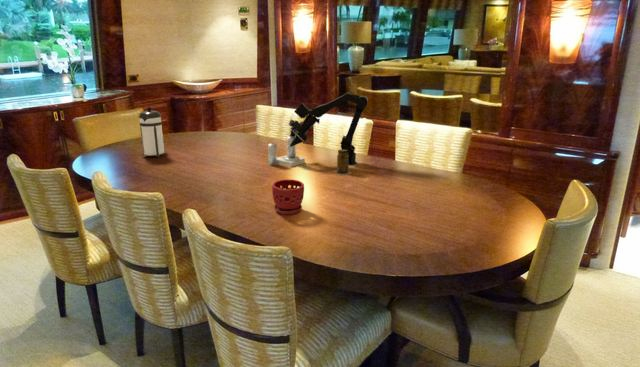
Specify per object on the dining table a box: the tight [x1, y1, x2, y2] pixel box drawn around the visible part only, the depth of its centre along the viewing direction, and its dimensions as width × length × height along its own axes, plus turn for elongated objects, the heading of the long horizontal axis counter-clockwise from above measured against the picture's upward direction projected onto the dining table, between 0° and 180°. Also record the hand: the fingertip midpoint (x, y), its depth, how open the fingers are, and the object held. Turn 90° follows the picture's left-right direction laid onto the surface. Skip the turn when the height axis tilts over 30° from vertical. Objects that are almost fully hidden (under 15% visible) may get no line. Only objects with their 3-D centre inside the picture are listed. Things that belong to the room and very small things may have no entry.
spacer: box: [267, 142, 278, 167], centre depth 263 cm, size 5×5×12 cm
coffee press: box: [138, 106, 167, 159], centre depth 281 cm, size 17×16×30 cm
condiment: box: [333, 148, 353, 175], centre depth 248 cm, size 7×8×12 cm
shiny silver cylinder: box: [286, 135, 297, 159], centre depth 265 cm, size 5×5×12 cm
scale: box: [277, 154, 306, 168], centre depth 268 cm, size 14×12×3 cm
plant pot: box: [271, 179, 305, 215], centre depth 193 cm, size 13×13×12 cm
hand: (288, 144), depth 264 cm, fingers open, 9 cm apart
